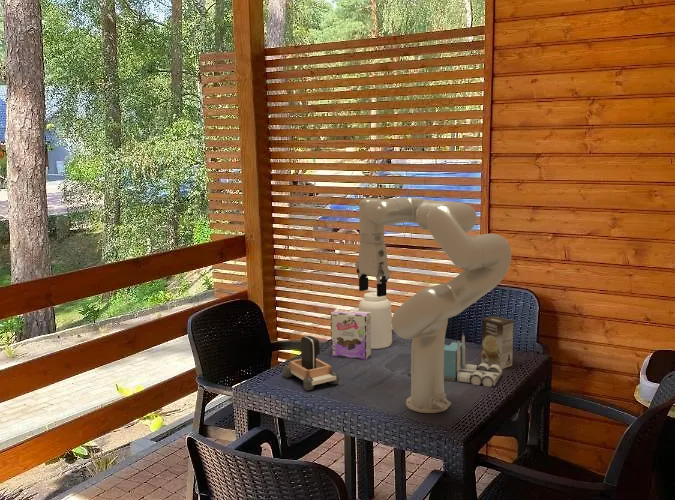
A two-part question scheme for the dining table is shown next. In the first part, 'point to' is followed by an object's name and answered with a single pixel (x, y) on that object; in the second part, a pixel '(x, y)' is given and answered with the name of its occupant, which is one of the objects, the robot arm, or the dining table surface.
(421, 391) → the robot arm
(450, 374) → the truck
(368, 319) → the candy box
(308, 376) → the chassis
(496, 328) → the coffee box
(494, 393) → the dining table surface
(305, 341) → the battery charger
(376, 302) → the white jar
